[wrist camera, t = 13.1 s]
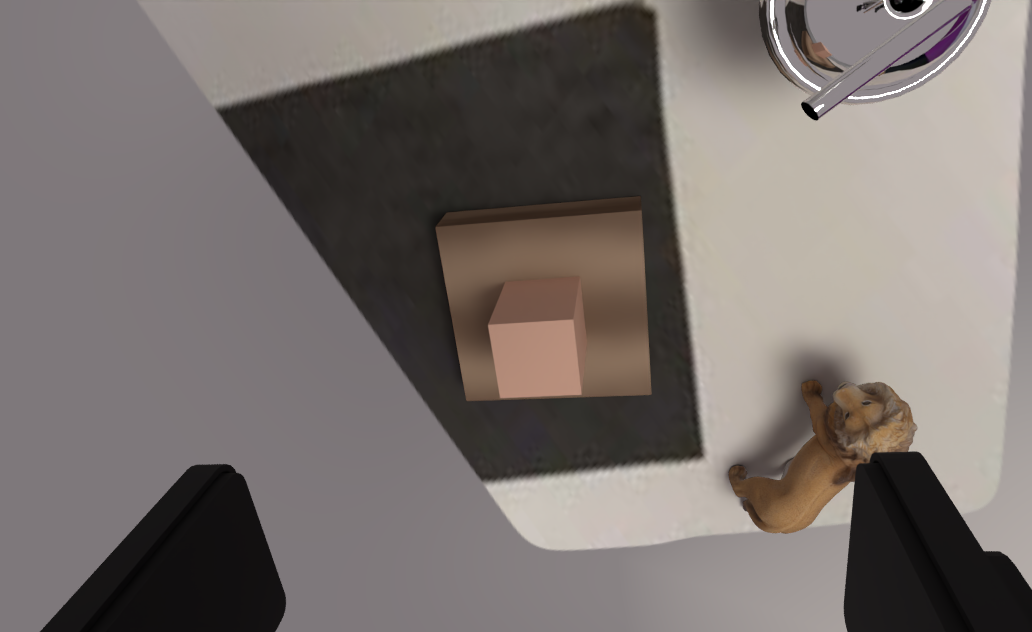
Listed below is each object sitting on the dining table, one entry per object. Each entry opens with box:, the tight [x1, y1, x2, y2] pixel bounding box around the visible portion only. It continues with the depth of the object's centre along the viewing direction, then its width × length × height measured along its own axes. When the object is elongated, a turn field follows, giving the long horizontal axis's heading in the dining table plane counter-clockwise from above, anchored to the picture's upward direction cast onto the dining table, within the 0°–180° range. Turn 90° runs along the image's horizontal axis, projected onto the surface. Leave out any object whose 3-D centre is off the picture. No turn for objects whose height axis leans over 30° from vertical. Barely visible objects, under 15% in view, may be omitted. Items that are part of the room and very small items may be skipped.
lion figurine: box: [729, 381, 917, 534], centre depth 43 cm, size 15×5×9 cm, turn 161°
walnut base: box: [435, 196, 651, 401], centre depth 44 cm, size 12×12×3 cm
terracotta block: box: [488, 276, 587, 398], centre depth 40 cm, size 4×4×6 cm
